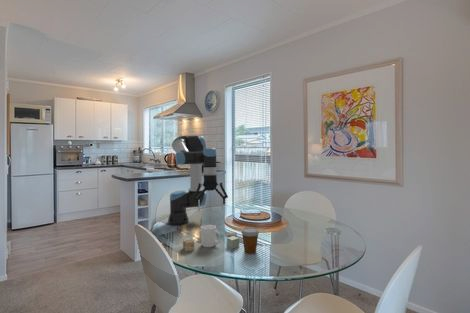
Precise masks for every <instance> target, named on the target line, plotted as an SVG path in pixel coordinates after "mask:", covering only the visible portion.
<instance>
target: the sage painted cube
mask: <svg viewBox="0 0 470 313" xmlns="http://www.w3.org/2000/svg"><path fill="white" fill-rule="evenodd" d="M226 247H227V248H229V249H231V250H234V249H236V248H239V247H240V237H238V236H237V237H235V236H231V237H228V236H227V237H226Z"/></svg>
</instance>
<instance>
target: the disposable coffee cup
mask: <svg viewBox="0 0 470 313" xmlns="http://www.w3.org/2000/svg"><path fill="white" fill-rule="evenodd" d="M259 233H260V231H259V229H258V228H256V227H252V226H251V227H250V226H249V227H243V228H242V230H241V234H242V242H243V249H244V253H245V254H249V255H250V254H251V255H252V254H255V253H257V248H258V237H259Z"/></svg>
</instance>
